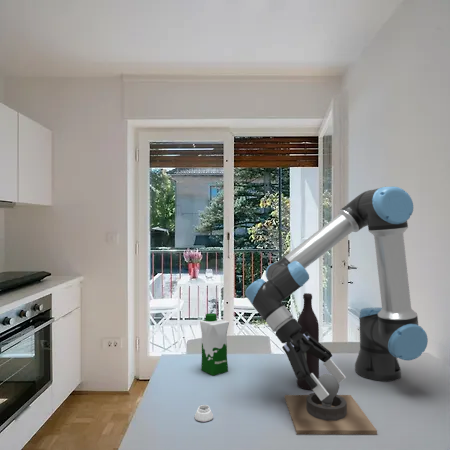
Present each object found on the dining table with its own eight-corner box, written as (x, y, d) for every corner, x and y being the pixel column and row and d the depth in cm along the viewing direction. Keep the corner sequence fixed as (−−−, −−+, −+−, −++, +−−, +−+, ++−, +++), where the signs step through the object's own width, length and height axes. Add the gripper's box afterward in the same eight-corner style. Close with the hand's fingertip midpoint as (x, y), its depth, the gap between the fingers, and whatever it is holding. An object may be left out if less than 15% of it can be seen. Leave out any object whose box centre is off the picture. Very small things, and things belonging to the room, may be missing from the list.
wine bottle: (298, 380, 127) (298, 291, 127) (320, 383, 124) (319, 292, 125) (295, 388, 120) (295, 295, 120) (317, 391, 118) (317, 296, 118)
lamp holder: (350, 398, 113) (350, 385, 113) (377, 434, 93) (376, 418, 93) (284, 398, 113) (284, 384, 113) (296, 434, 93) (296, 418, 93)
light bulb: (338, 417, 100) (340, 381, 99) (315, 414, 101) (317, 378, 101) (336, 406, 106) (338, 371, 105) (314, 403, 107) (316, 369, 106)
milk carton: (216, 364, 142) (216, 311, 142) (232, 371, 135) (231, 315, 135) (197, 370, 136) (197, 315, 137) (212, 377, 129) (212, 319, 129)
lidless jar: (216, 416, 103) (201, 412, 105) (216, 405, 103) (201, 401, 105) (206, 425, 98) (191, 420, 101) (206, 413, 98) (191, 409, 101)
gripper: (294, 324, 123) (339, 380, 114) (254, 343, 102) (306, 414, 93) (309, 310, 120) (357, 367, 111) (271, 326, 99) (327, 398, 90)
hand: (334, 388), depth 102 cm, fingers open, 13 cm apart
